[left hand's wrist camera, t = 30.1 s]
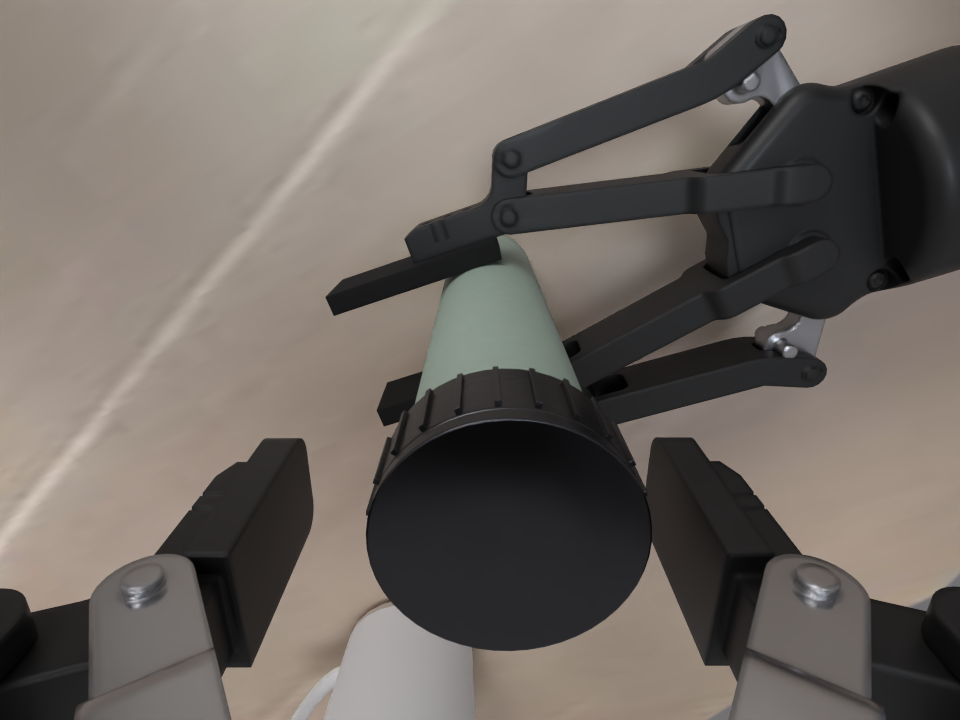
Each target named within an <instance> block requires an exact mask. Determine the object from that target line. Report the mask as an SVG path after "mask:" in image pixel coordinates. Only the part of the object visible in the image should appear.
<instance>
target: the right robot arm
mask: <svg viewBox="0 0 960 720" xmlns="http://www.w3.org/2000/svg"><path fill="white" fill-rule="evenodd" d="M786 31H787V29H786V26H785V23H784V21H783V20H782V19H781V18H780V17H779V16H776V15H773V14H769V15H764V16H761V17H759V18H757V19H754V20H752V21H750V22H747V23H745V24H743V25H741V26H738V27H736V28H734V29H732V30H730V31H728V32H727V33H725V34H724V35H723V36H722V37H720V38H719V39H718V40H717V41H716V42H715V43H713V44H712V45H711V46H710V47H709V48H708V49H706V50H705V51H704V52H703V53H702V54H701V55H699V56H698V57H697V58H696V59H695V60H694V61H692V62H691V63H690V64H689V65H688V66H687V67H685V68H684V69H681V70H679V71H676V72H674V73H671V74H669V75H666V76H663V77H661V78H658V79H656V80H653V81H651V82H648V83H646V84H643V85H641V86H638V87H636V88H633V89H631V90H628V91H626V92H623V93H621V94H618V95H616V96H613V97H611V98H608V99H606V100H603V101H601V102H598V103H596V104H593V105H591V106H588V107H586V108H583V109H581V110H578V111H576V112H573V113H571V114H568V115H566V116H563V117H560V118H558V119H555V120H553V121H550V122H548V123H545V124H543V125H540V126H538V127H535V128H533V129H530V130H528V131H525V132H523V133H520V134H518V135H515V136H513V137H510V138H508V139H505V140H503V141H501V142H500V143H498V144H497V145H496V147H495V148H494V150H493V154H492V182H491V189H490V191H489V194H488V195H487V197H486V198H485V199H484V200H483V201H481V202H479V203H477V204H474V205H472V206H469V207H466V208H463V209H460V210H457V211H454V212H451V213H449V214H446V215H443V216H440V217H437V218H435V219H431V220H429V221H426V222H423V223H420V224H418V225H417V226H416V227H415V228H414V229H413V230H412V231H411V232H410V233H409V234H408V235H407V236H406V238H405V242H406V244H407V247H408V250H409V252H410V255H411V256H410V257H407V258H405V259H402V260H399V261H396V262H393V263H390V264H387V265H384V266H381V267H378V268H375V269H372V270H369V271H367V272H364V273H361V274H358V275H355V276H352V277H349V278H346V279H343V280H342V281H341V282H340V283H339V284H338V285H337V286H336V287H335V288H334V289H333V290H332V291H331V292H330V293H329V294H328V295H327V296H326V299H327V302H328V304H329V306H330V308H331V311H332V313H333V315H334V316H335V315H338V314H341V313H344V312H347V311H350V310H353V309H356V308H359V307H362V306H365V305H368V304H371V303H374V302H377V301H380V300H383V299H386V298H389V297H392V296H395V295H398V294H401V293H404V292H407V291H410V290H413V289H416V288H419V287H422V286H425V285H428V284H431V283H434V282H437V281H440V280H443V279H446V278H449V277H452V276H455V275H458V274H461V273H464V272H467V271H469V270H472V269H475V268H478V267H481V266H484V265H487V264H490V263H493V262H496V261H499V260H502V257H501V251H500V246H499V242H498V239H497V237H499V236H502V235H504V234H510V235H511V234H520V233H528V232H536V231H545V230H553V229H562V228H570V227H579V226H587V225H595V224H604V223H612V222H621V221H629V220H637V219H646V218H654V217H663V216H671V215H680V214H698V216H699V218H700V220H701V222H702V224H703V226H704V228H705V230H706V232H707V239H706V251H705V255H706V259H705V260H703V261H701V262H699V263H698V264H696V265H694V266H692V267H690V268H689V269H687V270H686V271H685V272H684V273H683V274H682V276H681V277H680V278H679V279H677V280H675V281H674V282H672V283H670V284H668V285H666V286H664V287H662V288H661V289H659V290H657V291H655V292H653V293H651V294H650V295H648V296H646V297H644V298H642V299H640V300H638V301H637V302H635V303H633V304H631V305H629V306H627V307H626V308H624V309H622V310H620V311H618V312H616V313H614V314H613V315H611V316H609V317H607V318H605V319H603V320H602V321H600V322H598V323H596V324H594V325H592V326H590V327H589V328H587V329H585V330H583V331H581V332H579V333H578V334H576V335H574V336H572V337H570V338H568V339H566V340H565V341H563V342H562V343H563V346H564V348H565V350H566V353H567V355H568V358H569V360H570V363H571V365H572V368H573V370H574V373H575V375H576V377H577V380H578V382H579V385H580V387H581V390H582V392H583V393H584V394H585V395H587V396H588V397H589V398H591V397H595V398H596V399H597V401H598V403H599V406H600V408H601V410H602V411H603V412H604V413H605V415H606V416H607V418H608V419H609V420H610V422H612V421H615V422H616V424H620V423H624V422H628V421H631V420H635V419H639V418H643V417H647V416H650V415H654V414H658V413H662V412H666V411H669V410H673V409H677V408H681V407H685V406H688V405H692V404H696V403H700V402H704V401H707V400H711V399H715V398H719V397H723V396H727V395H730V394H734V393H738V392H742V391H746V390H749V389H753V388H757V387H761V386H784V387H804V388H808V387H814V386H816V385H818V384H819V383H820V382H821V381H823V380H824V378H825V376H826V372H827V368H826V365H825V364H824V363H823V362H822V361H821V360H819V359H818V358H816V357H815V354H816V351H817V347H818V344H819V340H820V337H821V333H822V330H823V327H824V323H825V320H826V319H828V318H831V317H834V316H836V315H838V314H840V313H841V312H843V311H844V310H845V309H847V308H848V307H849V306H850V305H851V304H852V303H854V302H855V301H856V300H858V299H860V298H861V297H863V296H865V295H867V294H869V293H872V292H876V291H881V290H886V289H891V288H896V287H901V286H906V285H910V284H913V283H916V282H920V281H923V280H926V279H930V278H933V277H936V276H940V275H943V274H946V273H949V272H953V271H956V270H959V269H960V45H958V46H951V47H947V48H944V49H941V50H938V51H935V52H932V53H929V54H926V55H923V56H921V57H918V58H915V59H912V60H909V61H906V62H903V63H900V64H898V65H895V66H892V67H889V68H886V69H883V70H880V71H878V72H875V73H872V74H869V75H866V76H863V77H860V78H857V79H855V80H852V81H849V82H846V83H843V84H840V85H837V86H827V85H822V84H818V83H805V84H801V85H800V84H799V82H798V80H797V79H796V77H795V75H794V74H793V72H792V70H791V68H790V67H789V65H788V63H787V61H786V60H785V58H784V56H783V55H782V53H781V51H780V49H781V47H782V46H783V44H784V42H785V39H786ZM714 99H717V100H718V102H720V103H722V104H725V105H731V104H738V103H744V102H746V101H749V100H751V99H753V100H755V101H757V102H758V103H759V104H760V107H759V108H758V109H757V111H756V112H755V113H754V114H753V116H752V117H751V118H750V119H749V120H748V122H747V123H746V124H745V125H744V127H743V128H742V129H741V130H740V131H739V133H738V134H737V135H736V136H735V138H734V139H733V140H732V141H731V143H730V144H729V145H728V146H727V147H726V149H725V150H724V151H723V152H722V154H721V155H720V156H719V157H718V158H717V160H716V161H715V162H714V163H713V165H712V166H711V167H704V168H696V169H688V170H679V171H672V172H668V173H665V174H657V175H649V176H640V177H632V178H624V179H616V180H608V181H599V182H591V183H583V184H575V185H567V186H559V187H550V188H542V189H534V190H526V188H527V172H530V171H532V170H535V169H538V168H540V167H543V166H545V165H548V164H551V163H553V162H556V161H558V160H561V159H563V158H566V157H569V156H571V155H574V154H576V153H579V152H581V151H584V150H587V149H589V148H592V147H594V146H597V145H600V144H602V143H605V142H607V141H610V140H612V139H615V138H618V137H620V136H623V135H625V134H628V133H630V132H633V131H636V130H638V129H641V128H643V127H646V126H649V125H651V124H654V123H656V122H659V121H661V120H664V119H667V118H669V117H672V116H674V115H677V114H679V113H682V112H685V111H687V110H690V109H692V108H695V107H697V106H700V105H703V104H705V103H707V102H709V101H712V100H714ZM760 303H762V304H766V305H769V306H772V307H775V308H778V309H781V310H784V311H788V314H787V315H786V317H785V318H784V319H783V320H782V321H780V322H778V323H776V324H771V325H767V326H761V327H759V328H757V329H756V331H755V337H739V338H732V339H727V340H723V341H719V342H716V343H712V344H708V345H705V346H701V347H697V348H694V349H690V350H686V351H683V352H679V353H675V354H672V355H668V356H664V357H661V358H657V359H653V360H650V361H646V362H642V363H639V364H635V365H632V366H628V367H625V366H627V365H629V364H631V363H633V362H635V361H637V360H639V359H641V358H643V357H644V356H646V355H648V354H650V353H652V352H654V351H656V350H658V349H660V348H662V347H664V346H666V345H668V344H669V343H671V342H673V341H675V340H677V339H679V338H681V337H683V336H685V335H687V334H689V333H691V332H693V331H695V330H696V329H698V328H700V327H702V326H704V325H706V324H708V323H710V322H712V321H714V320H723V319H729V318H732V317H735V316H737V315H739V314H741V313H743V312H744V311H746V310H748V309H750V308H752V307H754V306H756V305H758V304H760ZM623 367H624V368H623ZM422 373H423V372H419V373H416V374H413V375H410V376H407V377H404V378H400V379H397V380H394V381H391V382H388V383H387V385H386V388H385V390H384V393H383V395H382V398H381V401H380V403H379V406H378V408H377V412H378V414H379V416H380V419H381V421H382V423H383V425H384V426H387V425H390V424H394V423H397V422H399V421H400V417H401V414H402V413H403V411H404V410H405V411H407V412H408V411H409V410H410V409H411V408H412V406H413V405H414V404H415V401H416V397H417V393H418V389H419V385H420V381H421V377H422Z"/></svg>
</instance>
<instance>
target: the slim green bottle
mask: <svg viewBox="0 0 960 720" xmlns="http://www.w3.org/2000/svg"><path fill="white" fill-rule="evenodd" d="M497 239H498V242H499V246H500V251H501V257H502V260H499V261H496V262H493V263H490V264H487V265H484V266H481V267H478V268H475V269H472V270H469V271H467V272H464V273H461V274H458V275H455V276H452V277H449V278H446V279H445V284H444V288H443V292H442V296H441V300H440V304H439V308H438V312H437V316H436V320H435V324H434V328H433V332H432V336H431V340H430V344H429V348H428V353H427V357H426V361H425V365H424V369H423V373H422V377H421V381H420V385H419V389H418V393H417V397H416V401H415V404H416V403H417V402H418V401H419V400H420V399H421V398H422V397H423V396H425V392H426V390H428V389H429V388H431V390H433V389H435V388H436V387H438V386H440V385H442V384H444V383H446V382H448V381H450V380H452V379H454V378H457V374H460V373H463V375H466V374H469V373H474V372H478V371H483V370H491V369H493V367H494V366H498V367H499V369H501V368H503V369H522V370H529V368H534V369H535V371H536V372H539V373H543V374H546V375H550V376H553V377H555V378H557V379H560V380H563V379H564V378H565V379H567V380H569V382H570V385H572V386H573V387H575V388H577V389H579V390H580V391H581V392H582V390H581V387H580V385H579V382H578V380H577V377H576V375H575V373H574V370H573V368H572V365H571V363H570V360H569V358H568V355H567V353H566V350H565V348H564V346H563V343H562V341H561V338H560V336H559V333H558V331H557V328H556V326H555V323H554V321H553V319H552V316H551V314H550V311H549V309H548V306H547V304H546V301H545V299H544V296H543V294H542V292H541V289H540V287H539V284H538V282H537V279H536V277H535V274H534V272H533V269H532V267H531V265H530V262H529V260H528V257H527V255H526V253H525V252H524V250H523V249H522V247H521V246H520V245H519V244H518V243H517V242H515V241H514V240H513V239H511V238H509V237H507V236H505V235H502V236H499V237H497Z"/></svg>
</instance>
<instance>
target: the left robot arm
mask: <svg viewBox="0 0 960 720" xmlns="http://www.w3.org/2000/svg"><path fill="white" fill-rule="evenodd" d="M646 490H647V494H648V496H646V499H647V502H648V505H649V508H650V514H651V520H652V543H653V545H654V547H655V550H656V552H657V554H658V557H659V559H660V561H661V564H662V566H663V568H664V571H665V573H666V575H667V578H668V580H669V582H670V585H671V587H672V589H673V592H674V594H675V597H676V599H677V601H678V604H679V606H680V608H681V611H682V613H683V615H684V618H685V620H686V622H687V625H688V627H689V629H690V632H691V634H692V636H693V639H694V641H695V643H696V646H697V648H698V650H699V653H700V655H701V657H702V660H703V662H704V664H705V666H730V668H731V670H732V672H733V674H734V676H735V678H736V680H737V687H736V691H735V695H734V699H733V703H732V707H731V711H730V716H729V720H960V587H946V588H942V589H939V590H938V591H936V592H935V593H934V594H933V596H932V599H931V602H930V604H929V607H928V609H927V611H922V610H918V609H914V608H909V607H905V606H900V605H896V604H891V603H887V602H882V601H878V600H874V599H870V598H869V595H868V593H867V592H866V590H865V589H864V587H863V586H862V585H861V584H860V583H859V582H858V581H857V580H856V579H855V578H854V577H853V576H851V575H850V574H849V573H847V572H846V571H844V570H843V569H841V568H839V567H837V566H836V565H833V564H831V563H829V562H827V561H824V560H822V559H819V558H815V557H812V556H807V555H802V554H801V552H800V551H799V550H798V549H797V547H796V546H795V545H794V543H793V542H792V541H791V540H790V538H789V537H788V536H787V534H786V533H785V532H784V531H783V529H782V528H781V527H780V525H779V524H778V523H777V522H776V520H775V519H774V518H773V516H772V515H771V514H770V513H769V511H768V510H767V509H764V505H763V503H762V502H761V501H760V500H759V498H758V497H757V496H756V495H754V494H753V491H752V489H751V488H750V487H749V485H748V484H747V483H746V482H745V480H744V479H743V478H742V476H741V475H739V474H738V473H736V472H735V471H733V470H732V469H730V468H729V467H727V466H726V465H724V464H723V463H721V462H720V461H709V459H708V458H707V457H706V455H705V454H704V452H703V451H702V450H701V448H700V447H699V445H698V444H697V443H696V441H695V440H694V439H693V438H655V439H654V440H653V442H652V445H651V450H650V458H649V465H648V473H647V481H646ZM312 520H313V496H312V488H311V480H310V473H309V465H308V457H307V450H306V445H305V442H304V440H303V439H301V438H266V439H264V440H263V441H262V442H261V443H260V445H259V446H258V447H257V449H256V450H255V452H254V453H253V454H252V456H251V457H250V458H249V460H248V461H247V462H237V463H235V464H234V465H232V466H231V467H229V468H228V469H226V470H225V471H223V472H222V473H220V474H219V475H217V476H216V477H215V478H214V479H213V481H212V482H211V483H210V484H209V486H208V487H207V488H206V490H205V491H204V492H203V496H200V497H199V499H198V500H197V501H196V502H195V504H194V505H193V506H192V510H189V511H188V513H187V514H186V515H185V516H184V518H183V519H182V520H181V521H180V523H179V524H178V525H177V527H176V528H175V529H174V530H173V532H172V533H171V534H170V536H169V537H168V538H167V539H166V541H165V542H164V543H163V544H162V546H161V547H160V548H159V550H158V551H157V552H156V553H155V555H153V556H148V557H145V558H141V559H138V560H136V561H133V562H131V563H129V564H127V565H124V566H123V567H121V568H119V569H117V570H116V571H114V572H113V573H111V574H110V575H109V576H107V577H106V578H105V579H104V580H103V581H102V582H101V583H100V584H99V585H98V586H97V587H96V589H95V590H94V592H93V593H92V595H91V598H90V599H88V600H84V601H80V602H76V603H72V604H67V605H63V606H58V607H54V608H49V609H45V610H40V611H36V612H32V613H31V611H30V609H29V606H28V604H27V601H26V598H25V597H24V595H23V594H22V593H20V592H19V591H16V590H13V589H0V720H231V716H230V711H229V707H228V703H227V699H226V695H225V691H224V687H223V682H222V678H221V677H222V675H223V673H224V671H225V669H226V667H251V666H252V664H253V662H254V659H255V657H256V655H257V652H258V650H259V648H260V645H261V643H262V641H263V638H264V636H265V634H266V632H267V629H268V627H269V625H270V622H271V620H272V618H273V615H274V613H275V611H276V609H277V606H278V604H279V602H280V599H281V597H282V595H283V592H284V590H285V588H286V585H287V583H288V581H289V579H290V576H291V574H292V572H293V569H294V567H295V565H296V562H297V560H298V558H299V555H300V553H301V551H302V549H303V546H304V544H305V542H306V539H307V537H308V535H309V532H310V529H311V525H312Z"/></svg>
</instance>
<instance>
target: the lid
mask: <svg viewBox="0 0 960 720" xmlns="http://www.w3.org/2000/svg"><path fill="white" fill-rule="evenodd" d="M635 465H636V463H635V461H634V459H633V457H632V455H631V453H630V451H629V449H628V447H627V444H626V442H625V440H624V438H623V436H622V434H621V432H620V430H619V428H618V426H617V424H616V422H615V421H612V422H610V420H609V419H608V418H607V416H606V415H605V413H604V412H603V411H602V410H601V408H600V406H599V403H598V401H597V399H596V398H595V397H591V398H589V397H588V396H587V395H585V394H584V393H583V392H581V391H580V390H579V389H577V388H575V387H573V386H572V385H570V382H569V380H567V379H565V378H564V379H563V380H560V379H557V378H555V377H553V376H550V375H546V374H543V373H539V372H536V371H535V369H534V368H529V370H522V369H503V368H501V369H499V367H498V366H494V367H493V369H491V370H483V371H478V372H474V373H469V374H466V375H463V373H460V374H457V378H454V379H452V380H450V381H448V382H446V383H444V384H442V385H440V386H438V387H436V388H435V389H433V390H431V388H429V389H428V390H426V392H425V396H423V397H422V398H421V399H420V400H419V401H418V402H417V403H416V404H414V405H413V406H412V408H411V409H410V410H409V411H408V412H407V411H405V410H404V411H403V413H402V414H401V417H400V421H399V424H398V426H397V428H396V429H395V432H394V434H393V436H392V438H390V437H387V439H386V442H385V445H384V449H383V452H382V455H381V458H380V461H379V465H378V468H377V471H376V474H375V477H374V481H373V484H374V487H373V491H372V494H371V497H370V500H369V504H368V507H367V510H366V515H367V516H368V518H367V528H366V544H367V552H368V557H369V561H370V565H371V567H372V570H373V573H374V575H375V578H376V580H377V581H378V583H379V585H380V587H381V589H382V590H383V592H384V593H385V595H386V596H387V597H388V598H389V600H390V601H391V602H392V604H393V605H394V606H395V607H396V608H397V609H398V610H399V611H400V612H401V613H402V614H403V615H405V616H406V617H407V618H408V619H410V620H411V621H412V622H414V623H415V624H416V625H418V626H420V627H421V628H423V629H425V630H426V631H428V632H430V633H432V634H434V635H436V636H438V637H440V638H443V639H445V640H448V641H451V642H454V643H457V644H460V645H464V646H468V647H473V648H477V649H485V650H494V651H517V650H529V649H535V648H541V647H546V646H549V645H553V644H557V643H560V642H563V641H566V640H568V639H571V638H573V637H576V636H578V635H580V634H582V633H584V632H586V631H588V630H590V629H592V628H593V627H595V626H596V625H598V624H599V623H601V622H602V621H604V620H605V619H606V618H607V617H609V616H610V615H611V614H612V613H613V612H614V611H616V610H617V609H618V608H619V607H620V606H621V605H622V604H623V602H624V601H625V600H626V599H627V598H628V597H629V595H630V594H631V593H632V591H633V590H634V588H635V587H636V586H637V584H638V582H639V580H640V578H641V576H642V574H643V572H644V570H645V567H646V564H647V561H648V558H649V554H650V549H651V543H652V520H651V514H650V508H649V505H648V502H647V499H646V496H648V494H647V490H646V488H645V486H644V484H643V482H642V480H641V478H640V476H639V474H638V471H637V469H636V467H635Z"/></svg>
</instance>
